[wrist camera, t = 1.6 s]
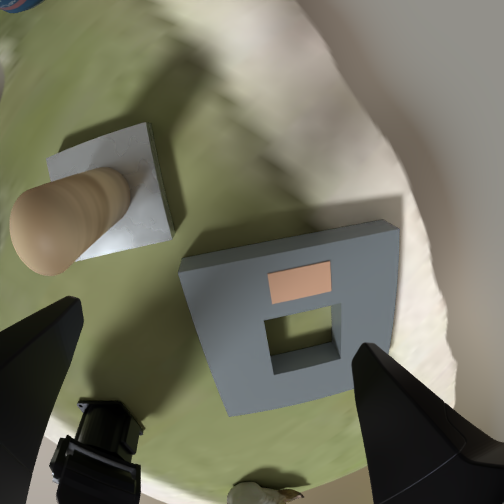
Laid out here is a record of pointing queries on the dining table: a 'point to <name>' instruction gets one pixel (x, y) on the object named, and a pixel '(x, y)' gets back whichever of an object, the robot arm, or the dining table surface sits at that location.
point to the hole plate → (292, 311)
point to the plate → (138, 178)
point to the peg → (66, 218)
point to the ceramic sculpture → (260, 494)
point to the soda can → (18, 5)
